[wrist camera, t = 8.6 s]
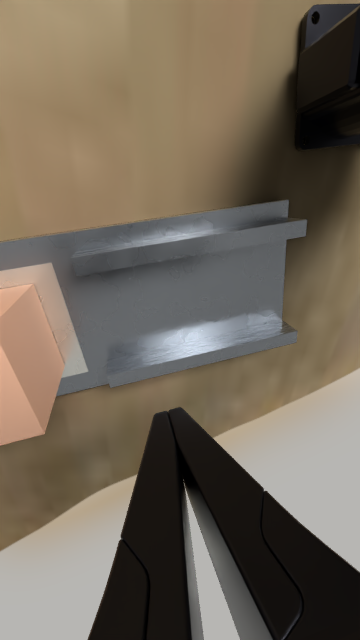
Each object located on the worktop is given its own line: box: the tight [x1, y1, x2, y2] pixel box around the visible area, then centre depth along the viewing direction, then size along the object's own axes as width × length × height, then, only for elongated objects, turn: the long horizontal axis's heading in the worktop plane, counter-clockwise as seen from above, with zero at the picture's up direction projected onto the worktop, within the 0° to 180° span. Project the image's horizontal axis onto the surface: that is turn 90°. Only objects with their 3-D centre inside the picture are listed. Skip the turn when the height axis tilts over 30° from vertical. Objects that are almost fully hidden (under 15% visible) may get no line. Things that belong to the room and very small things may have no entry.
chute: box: [0, 200, 307, 396], centre depth 17 cm, size 26×11×3 cm, turn 97°
